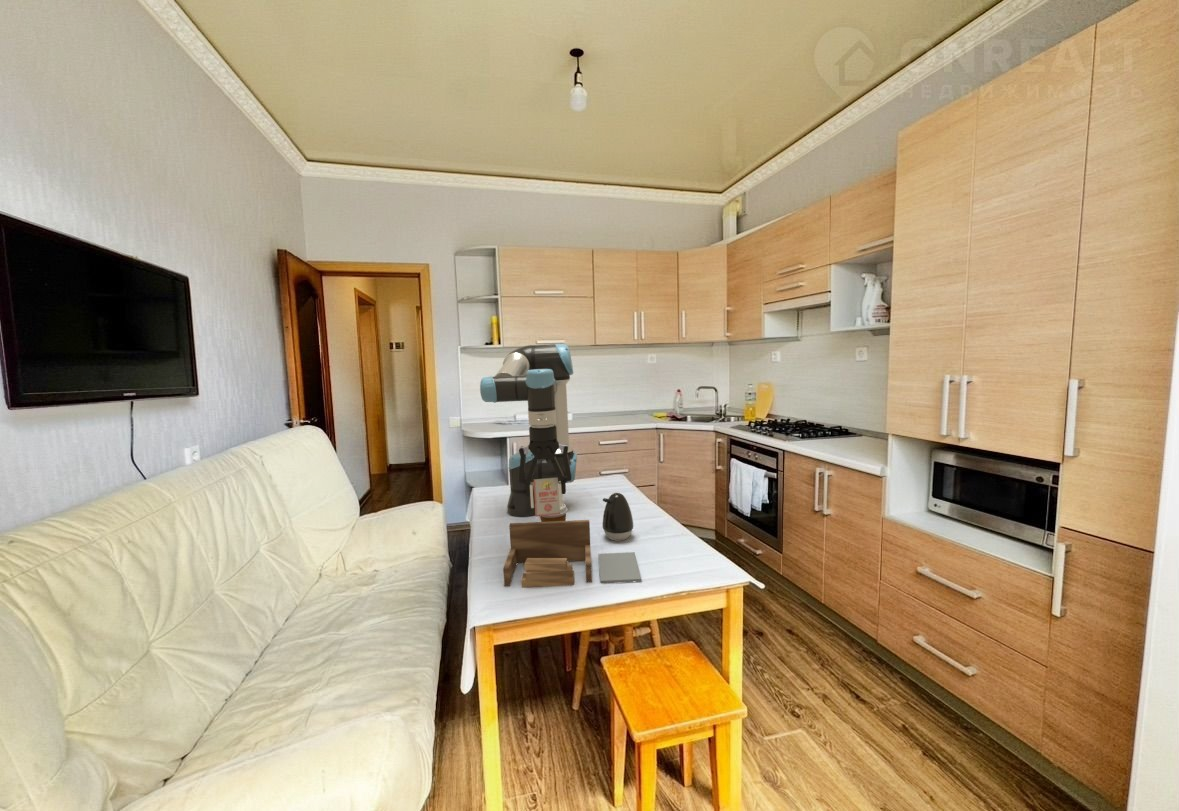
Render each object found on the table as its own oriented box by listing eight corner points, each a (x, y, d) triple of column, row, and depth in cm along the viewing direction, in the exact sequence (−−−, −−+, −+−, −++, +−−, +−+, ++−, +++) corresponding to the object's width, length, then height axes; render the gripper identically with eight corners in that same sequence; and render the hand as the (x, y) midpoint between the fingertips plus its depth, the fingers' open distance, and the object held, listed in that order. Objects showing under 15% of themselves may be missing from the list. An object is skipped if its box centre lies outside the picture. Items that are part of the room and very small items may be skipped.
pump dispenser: (596, 536, 150) (594, 492, 148) (622, 528, 155) (621, 486, 153) (613, 546, 141) (611, 500, 139) (639, 539, 146) (638, 494, 144)
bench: (512, 561, 133) (510, 523, 132) (590, 558, 134) (589, 519, 132) (504, 586, 120) (501, 543, 118) (591, 582, 120) (590, 539, 118)
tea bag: (535, 511, 127) (533, 477, 126) (558, 509, 128) (557, 475, 127) (535, 516, 123) (533, 481, 122) (559, 514, 124) (558, 479, 123)
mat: (598, 556, 135) (598, 553, 135) (634, 554, 135) (634, 552, 135) (600, 583, 119) (600, 580, 119) (641, 581, 119) (641, 578, 119)
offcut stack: (523, 578, 123) (522, 558, 122) (574, 576, 123) (573, 555, 122) (521, 588, 118) (520, 566, 117) (574, 585, 118) (573, 564, 117)
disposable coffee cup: (564, 548, 141) (563, 512, 139) (536, 547, 143) (534, 511, 141) (572, 536, 150) (570, 501, 149) (544, 535, 152) (543, 501, 151)
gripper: (503, 429, 119) (509, 512, 122) (579, 426, 119) (582, 508, 122) (508, 424, 126) (513, 502, 129) (579, 421, 126) (582, 499, 129)
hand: (547, 505), depth 125 cm, fingers closed on tea bag, 7 cm apart
